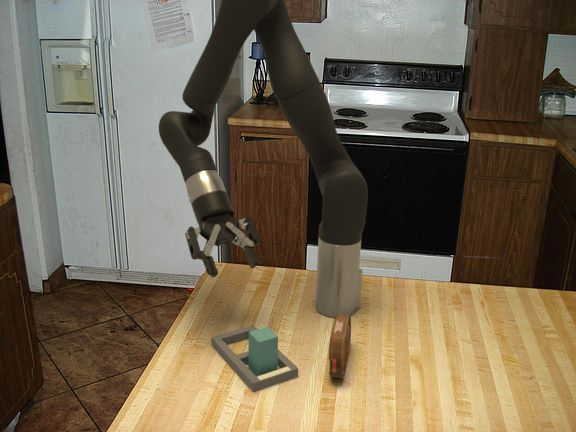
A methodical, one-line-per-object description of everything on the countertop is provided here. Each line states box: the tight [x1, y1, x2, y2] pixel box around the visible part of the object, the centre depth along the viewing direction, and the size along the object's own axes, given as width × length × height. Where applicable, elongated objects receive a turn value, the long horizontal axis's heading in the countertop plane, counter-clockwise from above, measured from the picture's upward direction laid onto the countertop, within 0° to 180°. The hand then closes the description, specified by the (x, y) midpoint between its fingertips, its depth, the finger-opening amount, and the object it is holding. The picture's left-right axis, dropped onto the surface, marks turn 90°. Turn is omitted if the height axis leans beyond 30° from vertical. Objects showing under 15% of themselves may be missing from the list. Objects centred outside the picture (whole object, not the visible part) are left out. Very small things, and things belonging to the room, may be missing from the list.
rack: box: [210, 324, 299, 393], centre depth 122 cm, size 10×18×2 cm, turn 31°
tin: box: [328, 315, 352, 380], centre depth 121 cm, size 15×3×8 cm, turn 168°
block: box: [247, 326, 279, 377], centre depth 118 cm, size 4×4×8 cm
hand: (235, 271), depth 123 cm, fingers open, 8 cm apart
